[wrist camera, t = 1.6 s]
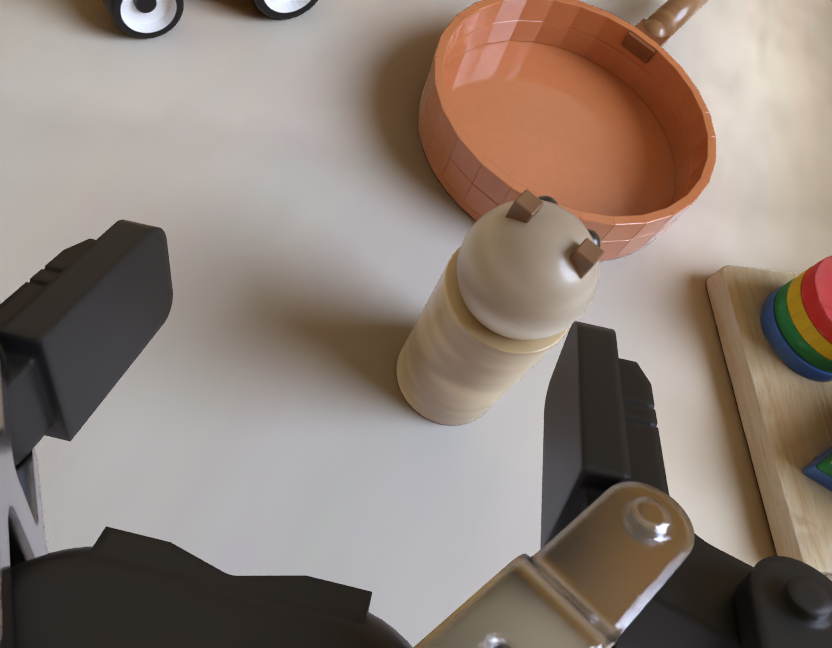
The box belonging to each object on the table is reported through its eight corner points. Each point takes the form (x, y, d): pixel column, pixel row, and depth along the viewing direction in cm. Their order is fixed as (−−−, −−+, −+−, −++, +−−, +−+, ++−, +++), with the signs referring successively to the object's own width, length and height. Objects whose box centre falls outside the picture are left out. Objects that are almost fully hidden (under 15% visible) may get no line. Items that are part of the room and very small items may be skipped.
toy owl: (374, 375, 32) (450, 219, 21) (443, 304, 35) (545, 130, 23) (456, 448, 32) (583, 329, 20) (520, 369, 34) (665, 225, 23)
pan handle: (642, 69, 44) (658, 46, 42) (616, 50, 44) (631, 26, 43) (718, -5, 51) (735, -28, 49) (695, -22, 51) (711, -45, 49)
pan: (358, 124, 39) (369, 73, 36) (520, 7, 48) (542, -44, 44) (594, 319, 37) (631, 284, 34) (719, 158, 46) (758, 118, 42)
